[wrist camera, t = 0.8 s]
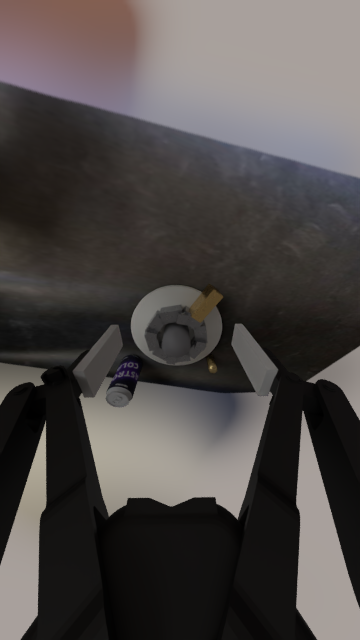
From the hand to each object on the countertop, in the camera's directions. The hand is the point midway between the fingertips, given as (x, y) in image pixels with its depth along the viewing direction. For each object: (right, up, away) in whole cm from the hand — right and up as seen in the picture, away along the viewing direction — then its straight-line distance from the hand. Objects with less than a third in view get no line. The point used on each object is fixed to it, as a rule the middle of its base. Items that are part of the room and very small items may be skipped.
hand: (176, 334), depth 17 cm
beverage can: (-13, -10, +26) cm, 31 cm away
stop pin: (+9, -9, +25) cm, 28 cm away
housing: (0, 0, +21) cm, 21 cm away
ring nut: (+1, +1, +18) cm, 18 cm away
